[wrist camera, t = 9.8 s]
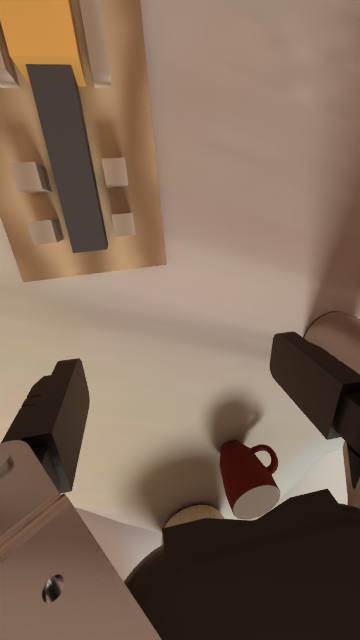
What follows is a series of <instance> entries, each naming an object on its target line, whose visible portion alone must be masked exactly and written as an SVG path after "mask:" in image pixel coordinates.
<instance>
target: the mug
mask: <svg viewBox="0 0 360 640" xmlns="http://www.w3.org/2000/svg"><path fill="white" fill-rule="evenodd" d="M258 451H267V452H268V453H269V454H270V456H271V464H270V465H269V466H268V467H265V466H264V465H263V464H262V463H261V461H260V460H259V459H258V458H257V456H256V455H255V454H254V453H256V452H258ZM277 467H278V458H277V456H276V453H275V452H274V451H273V449H272V448H270V447H269V446H267V445H257V446H254V447H252V448H251V449H250V448H249V447H247V446H245V445H244V444H242V443H240V442H239V441H236V440H232V441H229V442H227V443H225V444H224V445H223V447H222V449H221V454H220V469H221V474H222V478H223V483H224V488H225V492H226V496H227V499H228V502H229V504H230V507H231V509H232V512H233V514H234V515H235V516H236V517H237V518H240V519H252V518H256V517H258V516H261V515H263V514H265V513H266V512H268V511H269V510H270V509H272V508H273V507H274V505H276V503H277V502H278V500H279V497H280V491H279V488H278V487H277V485H276V483H275V481H274V479H273V477H272V474H273V473H274V472H275V471H276V470H277Z"/></svg>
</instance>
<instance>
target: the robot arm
mask: <svg viewBox="0 0 360 640" xmlns="http://www.w3.org/2000/svg"><path fill="white" fill-rule="evenodd" d="M270 371H271V374H272V376H273V378H274V379H275V381H276V382H277V383H278V384H279V385H280V386H281V387H282V389H283V390H284V391H285V392H286V393H287V394H288V396H289V397H290V398H291V399H292V400H293V401H294V402H295V404H296V405H297V406H298V407H299V408H300V409H301V410H302V412H303V413H304V414H305V415H306V416H307V417H308V418H309V420H310V421H311V422H312V423H313V424H314V425H315V427H316V428H317V429H318V430H319V431H320V432H321V433H322V435H323V436H324V437H325V438H326V439H327V440H328V439H333V438H338V437H342V438H343V439H344V440H345V441H344V445H343V456H344V465H345V474H346V483H347V493H348V505H345V504H339V503H338V502H337V501H336V500H335V498H334V497H333V496H332V494H331V493H330V491H329V490H328V489H325V490H320V491H316V492H312V493H308V494H304V495H299V496H295V497H291V498H289V499H287V500H286V501H284V502H283V503H281V504H280V505H278V506H277V507H275V508H274V509H272V510H271V511H269V512H268V513H266V514H265V515H263V516H262V517H260V518H259V519H257V520H253V521H248V520H232V519H216V518H204V519H199V520H195V521H191V522H187V523H183V524H179V525H174V526H170V527H166V528H162V534H163V543H164V544H163V545H161V546H160V547H158V548H157V549H155V550H154V551H152V552H151V553H150V554H149V555H148V556H146V557H145V558H144V559H143V560H142V561H141V562H140V563H139V564H138V565H137V566H136V567H135V568H134V569H133V571H132V572H131V573H130V574H129V576H128V577H127V578H126V580H125V581H124V582H123V580H122V579H121V577H120V576H119V574H118V573H117V571H116V570H115V569H114V567H113V565H112V564H111V562H110V561H109V559H108V558H107V556H106V555H105V553H104V552H103V550H102V549H101V547H100V546H99V544H98V543H97V541H96V540H95V538H94V537H93V535H92V533H91V532H90V530H89V529H88V527H87V526H86V524H85V523H84V521H83V520H82V518H81V517H80V515H79V514H78V512H77V511H76V509H75V508H74V506H73V505H72V503H71V502H70V500H69V499H68V498H67V496H66V495H65V494H62V495H61V494H60V493H65V492H70V491H72V487H73V482H74V477H75V473H76V468H77V463H78V458H79V453H80V448H81V444H82V439H83V434H84V429H85V424H86V419H87V415H88V410H89V391H88V386H87V382H86V378H85V373H84V369H83V365H82V361H81V360H80V359H79V358H78V359H70V360H62V361H58V362H57V364H56V366H55V368H54V370H53V372H52V375H49V376H44V377H42V378H41V379H40V380H39V381H38V382H37V383H36V384H35V385H33V387H32V388H31V390H30V392H29V394H28V396H27V399H25V401H24V403H23V405H22V408H20V410H19V412H18V414H17V415H16V417H15V419H14V421H13V422H12V424H11V426H10V428H9V430H8V431H7V433H6V435H5V437H4V439H3V440H2V442H1V444H0V640H360V319H359V318H356V317H354V316H353V317H351V316H349V315H346V314H344V313H341V312H331V313H328V314H325V315H323V316H322V317H320V318H319V319H317V320H316V321H315V322H314V323H313V324H312V325H311V326H310V328H309V329H308V331H307V333H306V335H305V337H304V338H303V337H301V336H300V335H298V334H297V333H296V332H286V333H278V334H275V336H274V338H273V344H272V351H271V359H270Z"/></svg>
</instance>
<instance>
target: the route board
mask: <svg viewBox="0 0 360 640" xmlns="http://www.w3.org/2000/svg"><path fill="white" fill-rule="evenodd" d="M70 2H71V7H72V11H73V16H74V21H75V27H76V32H77V38H78V44H79V49H80V55H81V60H82V66H83V71H84V77H85V82H86V86H78V89H79V94H80V99H81V104H82V110H83V115H84V120H85V125H86V131H87V136H88V141H89V146H90V152H91V157H92V162H93V167H94V173H95V178H96V183H97V188H98V193H99V199H100V204H101V209H102V214H103V220H104V225H105V230H106V235H107V241H108V248H107V250H98V251H89V252H80V253H73V251H72V247H71V243H70V239H69V235H68V231H67V227H66V223H65V219H64V215H63V211H62V207H61V203H60V199H59V195H58V191H57V187H56V183H55V180H54V176H53V172H52V168H51V164H50V160H49V156H48V152H47V148H46V144H45V140H44V136H43V132H42V128H41V124H40V120H39V116H38V112H37V108H36V104H35V100H34V96H33V92H32V88H31V86H30V84H29V83H28V81H27V80H26V79H25V77H24V76H23V74H22V73H21V71H20V70H19V68H18V67H17V66H16V64H15V63H14V61H13V60H12V58H11V57H10V55H9V51H8V47H7V44H6V40H5V36H4V32H3V29H2V25H1V21H0V216H1V219H2V222H3V225H4V228H5V231H6V233H7V236H8V239H9V242H10V245H11V248H12V251H13V254H14V256H15V259H16V262H17V265H18V268H19V271H20V274H21V277H22V280H23V282H29V281H37V280H45V279H53V278H61V277H69V276H77V275H85V274H93V273H102V272H110V271H118V270H126V269H134V268H142V267H150V266H158V265H166V255H165V245H164V235H163V225H162V215H161V205H160V195H159V185H158V175H157V165H156V155H155V145H154V135H153V125H152V115H151V105H150V95H149V85H148V75H147V65H146V55H145V45H144V35H143V25H142V15H141V5H140V0H70Z"/></svg>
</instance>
